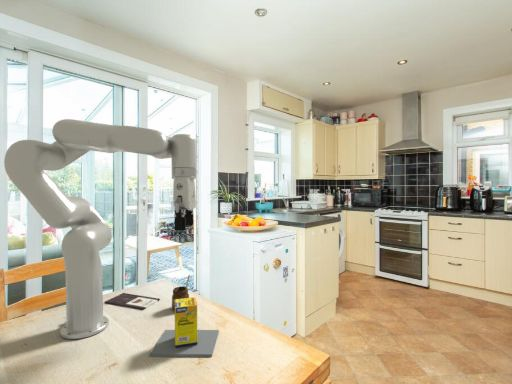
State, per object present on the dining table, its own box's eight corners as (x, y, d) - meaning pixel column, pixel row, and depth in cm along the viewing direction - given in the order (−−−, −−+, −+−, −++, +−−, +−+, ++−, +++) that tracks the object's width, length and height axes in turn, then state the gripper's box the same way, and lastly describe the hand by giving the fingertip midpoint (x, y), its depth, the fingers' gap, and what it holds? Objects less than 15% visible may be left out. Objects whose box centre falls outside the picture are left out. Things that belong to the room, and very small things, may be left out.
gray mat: (149, 356, 71) (149, 354, 71) (165, 331, 83) (165, 329, 83) (211, 356, 71) (211, 354, 71) (218, 331, 83) (218, 329, 83)
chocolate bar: (123, 292, 112) (160, 298, 106) (123, 295, 112) (160, 301, 106) (104, 301, 104) (143, 308, 98) (104, 304, 104) (143, 311, 98)
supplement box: (197, 344, 75) (197, 304, 75) (174, 348, 73) (174, 307, 73) (196, 333, 81) (195, 296, 81) (174, 337, 79) (174, 299, 79)
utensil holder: (175, 304, 102) (174, 272, 102) (192, 304, 102) (191, 272, 102) (169, 312, 96) (169, 277, 96) (187, 312, 96) (187, 277, 96)
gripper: (188, 172, 79) (189, 232, 80) (201, 175, 97) (201, 224, 97) (162, 173, 79) (163, 232, 80) (180, 175, 97) (180, 224, 97)
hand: (184, 227), depth 88 cm, fingers open, 9 cm apart
